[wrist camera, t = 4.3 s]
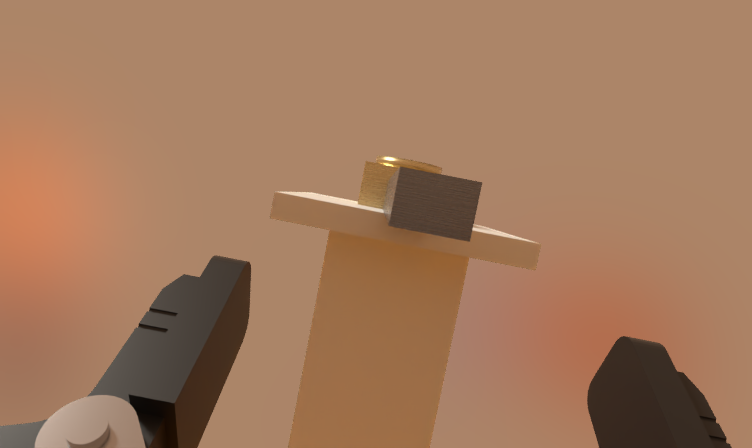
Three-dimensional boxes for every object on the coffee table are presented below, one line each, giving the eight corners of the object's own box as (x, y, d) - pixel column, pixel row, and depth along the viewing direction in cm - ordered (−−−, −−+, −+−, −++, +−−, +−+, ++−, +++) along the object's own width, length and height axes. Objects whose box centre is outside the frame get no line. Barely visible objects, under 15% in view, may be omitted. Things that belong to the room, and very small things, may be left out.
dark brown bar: (434, 216, 34) (443, 172, 34) (521, 251, 14) (545, 140, 13) (360, 202, 34) (369, 158, 34) (336, 215, 14) (358, 103, 13)
